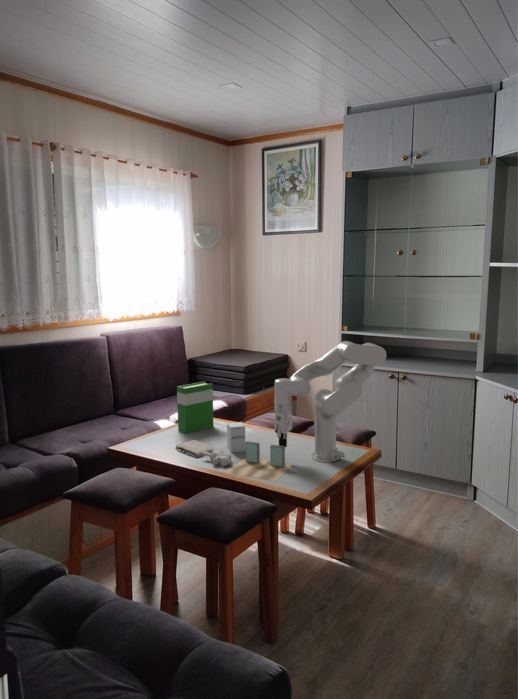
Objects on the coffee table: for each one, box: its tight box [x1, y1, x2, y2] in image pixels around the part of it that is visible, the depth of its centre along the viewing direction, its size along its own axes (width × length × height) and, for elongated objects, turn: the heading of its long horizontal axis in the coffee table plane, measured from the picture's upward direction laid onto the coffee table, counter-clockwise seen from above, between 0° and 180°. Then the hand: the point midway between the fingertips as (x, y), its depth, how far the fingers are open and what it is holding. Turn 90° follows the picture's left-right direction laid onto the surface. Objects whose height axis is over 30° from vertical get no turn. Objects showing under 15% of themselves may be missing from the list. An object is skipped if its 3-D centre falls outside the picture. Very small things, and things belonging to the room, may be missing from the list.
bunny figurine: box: [202, 448, 233, 467], centre depth 244 cm, size 10×5×15 cm
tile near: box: [269, 444, 286, 467], centre depth 238 cm, size 6×2×9 cm, turn 66°
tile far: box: [245, 440, 261, 463], centre depth 243 cm, size 6×2×9 cm, turn 66°
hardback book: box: [176, 381, 214, 434], centre depth 293 cm, size 18×7×24 cm, turn 131°
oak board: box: [225, 456, 293, 482], centre depth 236 cm, size 23×20×1 cm
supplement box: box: [226, 421, 246, 453], centre depth 260 cm, size 7×7×13 cm
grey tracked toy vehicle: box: [175, 439, 216, 458], centre depth 261 cm, size 12×18×3 cm, turn 45°
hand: (282, 446), depth 244 cm, fingers closed
